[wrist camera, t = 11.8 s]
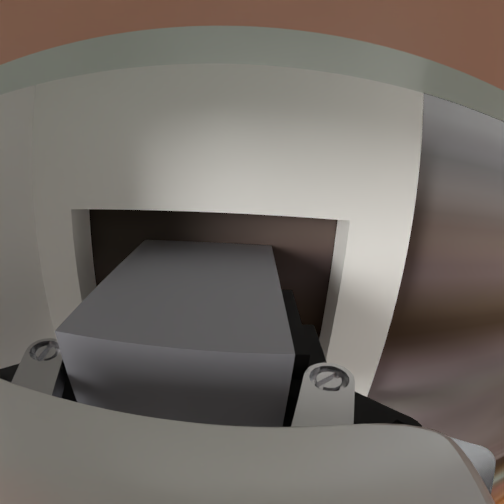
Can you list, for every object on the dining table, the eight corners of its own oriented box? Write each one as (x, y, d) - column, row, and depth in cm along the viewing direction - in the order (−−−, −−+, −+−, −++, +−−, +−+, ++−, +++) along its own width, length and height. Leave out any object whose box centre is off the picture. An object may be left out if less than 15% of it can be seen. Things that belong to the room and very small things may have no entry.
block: (262, 351, 14) (270, 483, 7) (153, 343, 14) (104, 464, 7) (271, 245, 12) (295, 354, 6) (145, 239, 12) (54, 330, 6)
